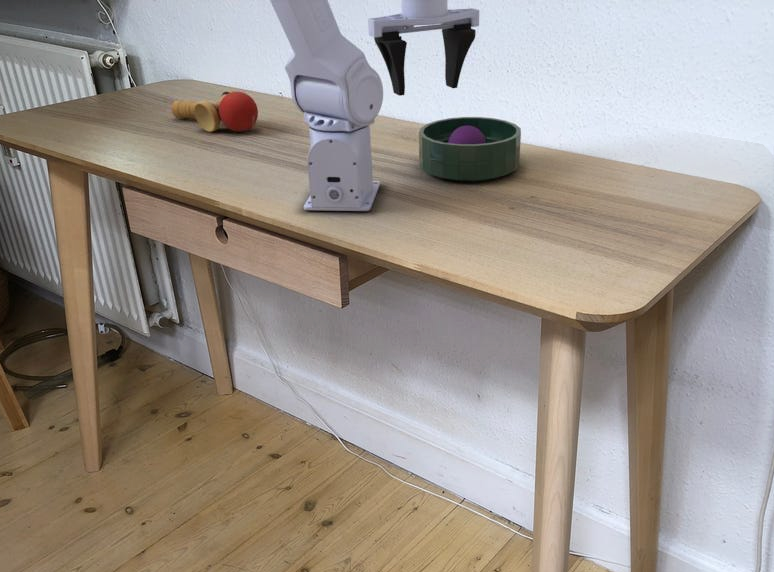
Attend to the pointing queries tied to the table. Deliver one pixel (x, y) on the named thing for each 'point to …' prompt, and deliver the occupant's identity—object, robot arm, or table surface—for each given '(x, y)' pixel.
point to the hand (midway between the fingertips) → (425, 90)
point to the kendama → (220, 111)
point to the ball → (467, 136)
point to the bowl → (469, 149)
